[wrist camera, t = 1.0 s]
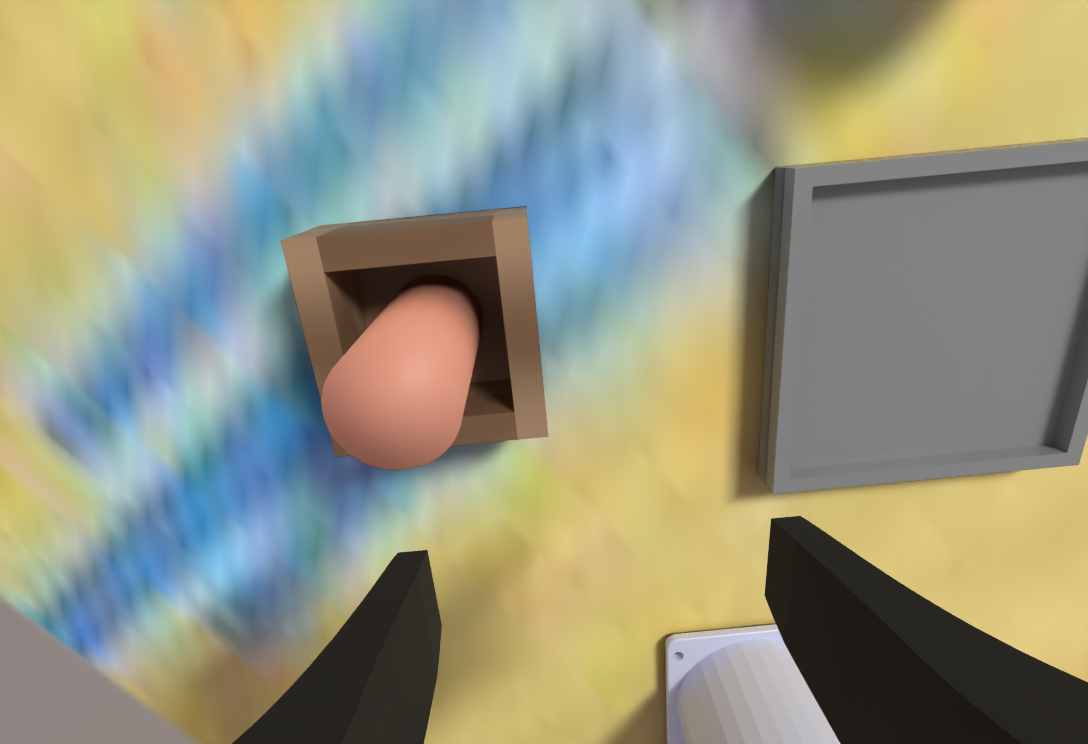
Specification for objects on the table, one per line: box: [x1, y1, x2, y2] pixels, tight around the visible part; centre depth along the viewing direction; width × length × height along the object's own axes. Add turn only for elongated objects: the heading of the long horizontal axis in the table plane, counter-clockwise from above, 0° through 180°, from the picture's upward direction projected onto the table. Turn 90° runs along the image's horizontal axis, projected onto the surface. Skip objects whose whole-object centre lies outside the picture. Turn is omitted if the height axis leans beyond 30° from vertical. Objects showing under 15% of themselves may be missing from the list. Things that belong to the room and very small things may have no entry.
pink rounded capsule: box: [321, 275, 483, 470], centre depth 17 cm, size 3×3×8 cm
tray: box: [758, 138, 1088, 494], centre depth 21 cm, size 12×12×2 cm
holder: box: [281, 206, 548, 457], centre depth 19 cm, size 7×7×4 cm
